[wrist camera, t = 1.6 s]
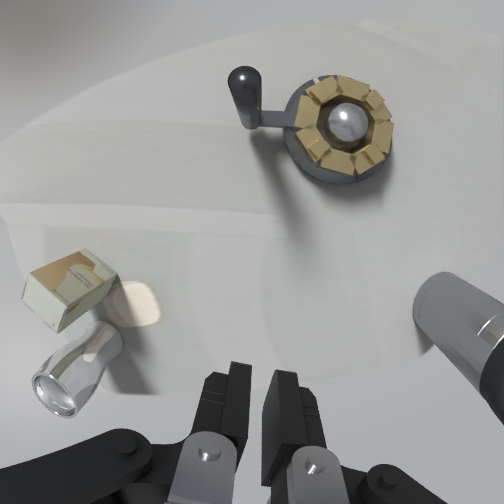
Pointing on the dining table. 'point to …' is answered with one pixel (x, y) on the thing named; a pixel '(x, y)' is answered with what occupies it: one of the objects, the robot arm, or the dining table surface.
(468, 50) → the dining table surface
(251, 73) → the lever crank
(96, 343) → the beer glass
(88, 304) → the skincare box
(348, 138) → the flange
